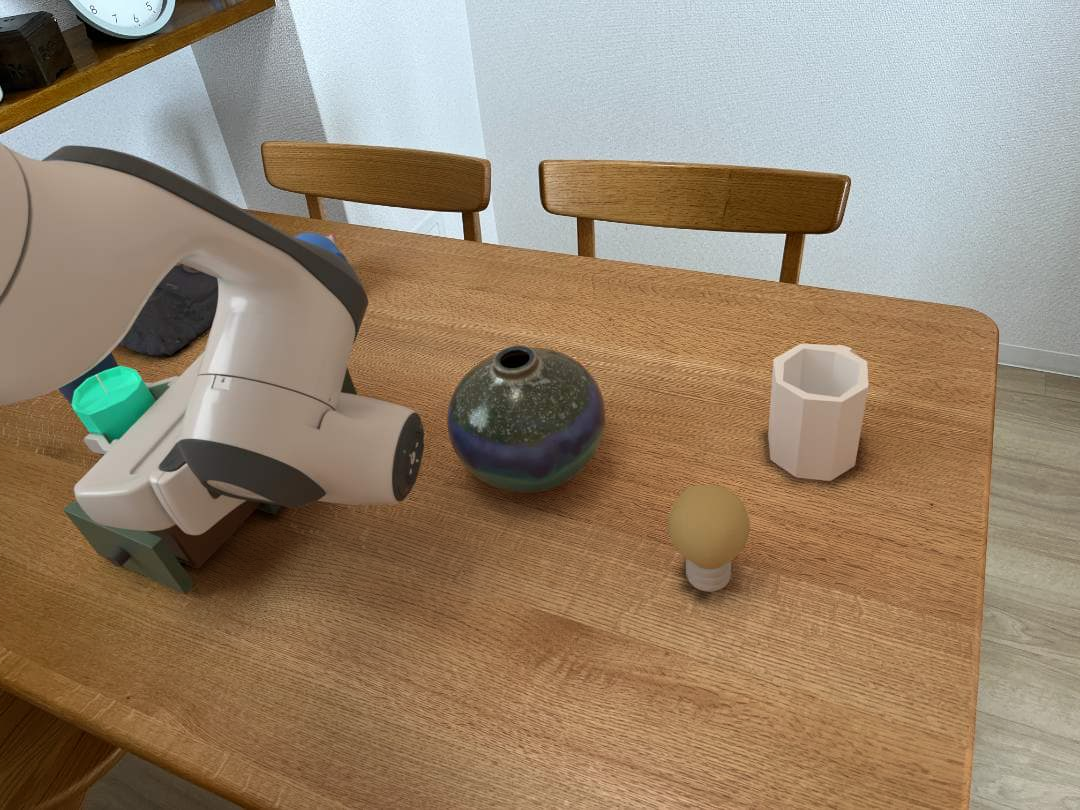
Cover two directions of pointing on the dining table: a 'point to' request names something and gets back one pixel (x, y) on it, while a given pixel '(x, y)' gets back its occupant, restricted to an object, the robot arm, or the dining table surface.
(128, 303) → the robot arm
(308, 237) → the blue mole toy
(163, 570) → the drawer
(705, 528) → the light bulb
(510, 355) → the vase
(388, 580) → the dining table surface
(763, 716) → the dining table surface
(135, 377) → the candle
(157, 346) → the dark slate chunk
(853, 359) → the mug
